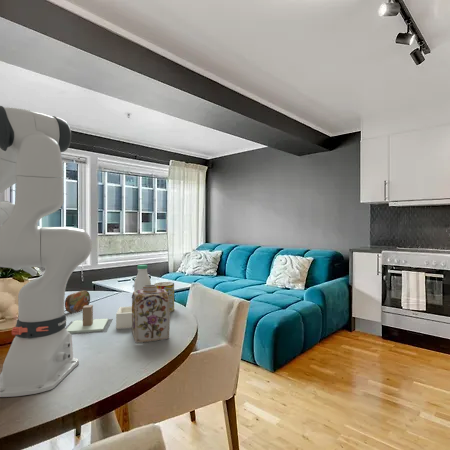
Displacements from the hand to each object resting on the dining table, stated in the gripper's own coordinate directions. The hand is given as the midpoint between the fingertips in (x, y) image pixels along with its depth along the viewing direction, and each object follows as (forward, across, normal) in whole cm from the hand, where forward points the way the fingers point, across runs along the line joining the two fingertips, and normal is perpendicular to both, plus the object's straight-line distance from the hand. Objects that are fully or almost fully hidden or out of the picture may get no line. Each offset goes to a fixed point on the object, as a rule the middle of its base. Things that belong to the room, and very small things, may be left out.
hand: (40, 272), depth 119 cm
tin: (+20, +27, +11) cm, 35 cm away
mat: (+27, 0, +4) cm, 27 cm away
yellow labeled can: (+48, +19, -17) cm, 54 cm away
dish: (+38, 0, -8) cm, 39 cm away
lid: (+27, 0, +4) cm, 27 cm away
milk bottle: (+41, +26, -10) cm, 49 cm away
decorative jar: (+44, -14, -13) cm, 48 cm away
